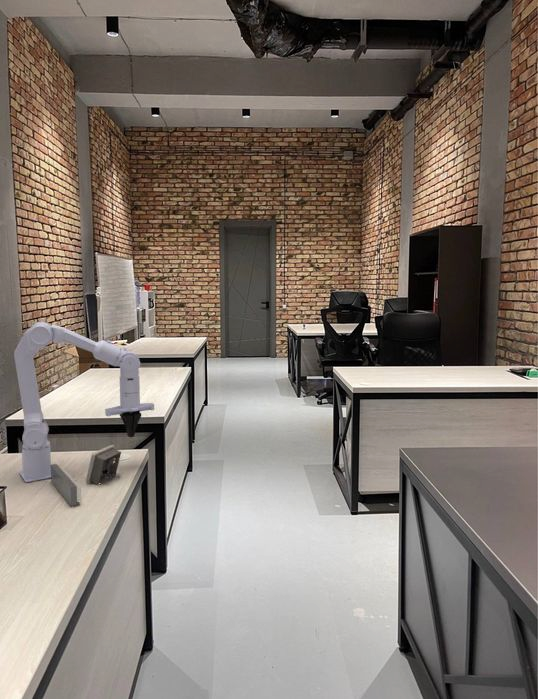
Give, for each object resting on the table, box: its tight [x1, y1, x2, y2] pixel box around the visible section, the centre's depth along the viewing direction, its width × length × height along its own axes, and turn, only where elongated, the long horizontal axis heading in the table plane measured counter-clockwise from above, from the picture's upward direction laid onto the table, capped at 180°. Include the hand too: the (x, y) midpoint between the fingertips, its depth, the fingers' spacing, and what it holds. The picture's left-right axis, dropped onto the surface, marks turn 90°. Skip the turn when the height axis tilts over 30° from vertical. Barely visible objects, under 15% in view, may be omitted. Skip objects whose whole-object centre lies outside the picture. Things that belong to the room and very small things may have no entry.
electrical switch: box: [85, 444, 122, 485], centre depth 150 cm, size 9×5×9 cm, turn 159°
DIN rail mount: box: [50, 463, 82, 508], centre depth 140 cm, size 20×2×5 cm, turn 35°
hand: (130, 436), depth 160 cm, fingers closed
